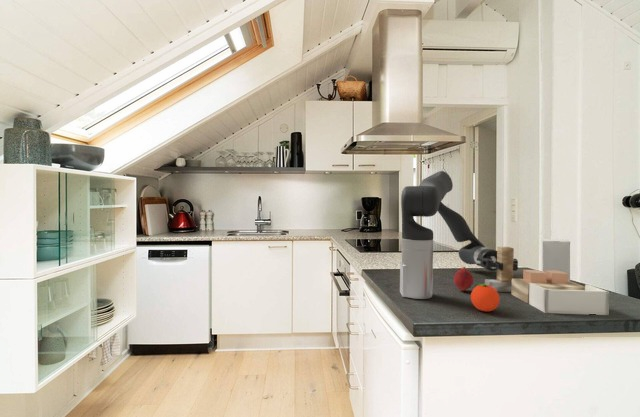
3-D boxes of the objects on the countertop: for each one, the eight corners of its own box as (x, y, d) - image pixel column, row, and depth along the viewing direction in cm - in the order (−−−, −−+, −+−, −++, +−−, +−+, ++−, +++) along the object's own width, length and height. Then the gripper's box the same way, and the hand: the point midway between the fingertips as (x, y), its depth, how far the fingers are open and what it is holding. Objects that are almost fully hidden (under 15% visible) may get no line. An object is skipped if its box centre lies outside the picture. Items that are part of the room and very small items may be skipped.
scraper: (489, 291, 113) (490, 247, 113) (484, 288, 117) (485, 246, 117) (525, 292, 112) (526, 248, 112) (519, 289, 116) (520, 247, 116)
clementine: (463, 306, 97) (464, 280, 97) (487, 305, 97) (488, 280, 97) (478, 315, 89) (479, 287, 89) (505, 315, 89) (505, 287, 89)
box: (544, 312, 91) (545, 289, 91) (529, 303, 99) (529, 282, 99) (608, 315, 90) (609, 291, 90) (587, 305, 98) (588, 284, 98)
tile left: (530, 282, 104) (530, 272, 104) (523, 279, 108) (523, 269, 108) (546, 283, 103) (546, 273, 103) (538, 279, 108) (538, 270, 108)
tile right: (551, 283, 103) (552, 273, 103) (543, 280, 108) (543, 270, 108) (568, 283, 103) (568, 273, 103) (558, 280, 107) (559, 270, 107)
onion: (474, 294, 109) (475, 268, 109) (455, 293, 111) (455, 267, 110) (470, 289, 115) (471, 265, 115) (452, 288, 116) (452, 264, 116)
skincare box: (569, 283, 126) (570, 239, 126) (570, 286, 121) (571, 241, 120) (541, 280, 131) (542, 238, 130) (541, 283, 125) (542, 239, 125)
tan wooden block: (527, 303, 100) (528, 286, 100) (511, 294, 110) (511, 278, 110) (587, 305, 98) (587, 287, 98) (565, 295, 108) (565, 279, 108)
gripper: (468, 247, 129) (486, 254, 112) (508, 248, 128) (532, 256, 111) (467, 268, 129) (485, 278, 112) (507, 269, 128) (532, 279, 111)
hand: (508, 267), depth 112 cm, fingers closed on scraper, 3 cm apart
